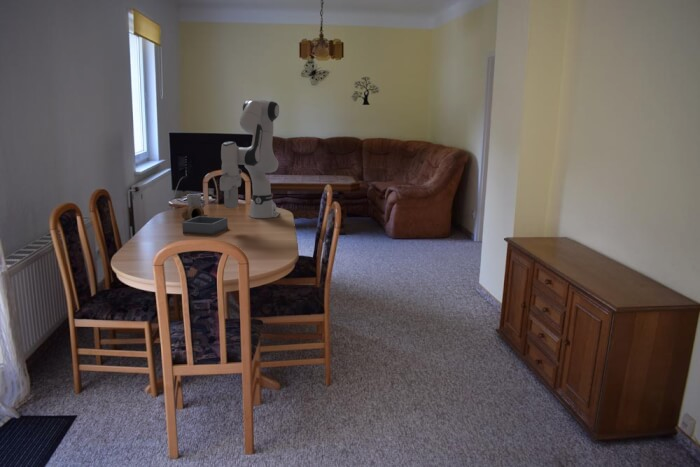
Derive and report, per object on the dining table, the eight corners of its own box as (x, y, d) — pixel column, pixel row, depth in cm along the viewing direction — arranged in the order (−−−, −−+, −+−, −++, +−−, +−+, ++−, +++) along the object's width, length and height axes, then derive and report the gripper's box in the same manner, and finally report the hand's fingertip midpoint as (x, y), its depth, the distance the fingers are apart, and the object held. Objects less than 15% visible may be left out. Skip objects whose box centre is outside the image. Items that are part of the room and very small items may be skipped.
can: (224, 208, 304) (223, 186, 302) (224, 206, 311) (223, 185, 309) (238, 208, 306) (238, 186, 304) (237, 205, 313) (237, 184, 311)
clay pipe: (177, 229, 330) (198, 223, 325) (171, 212, 329) (192, 206, 324) (194, 222, 348) (214, 216, 343) (188, 206, 346) (208, 200, 341)
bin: (199, 226, 322) (198, 216, 321) (227, 228, 318) (227, 217, 317) (182, 233, 305) (182, 222, 304) (213, 235, 301) (212, 224, 300)
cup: (201, 211, 367) (200, 193, 364) (206, 213, 360) (205, 195, 357) (185, 213, 361) (184, 194, 358) (190, 215, 354) (189, 196, 351)
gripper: (227, 174, 294) (228, 200, 297) (243, 170, 313) (243, 194, 316) (216, 173, 295) (217, 199, 298) (232, 169, 315) (233, 193, 318)
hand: (231, 196), depth 308 cm, fingers closed on can, 7 cm apart
